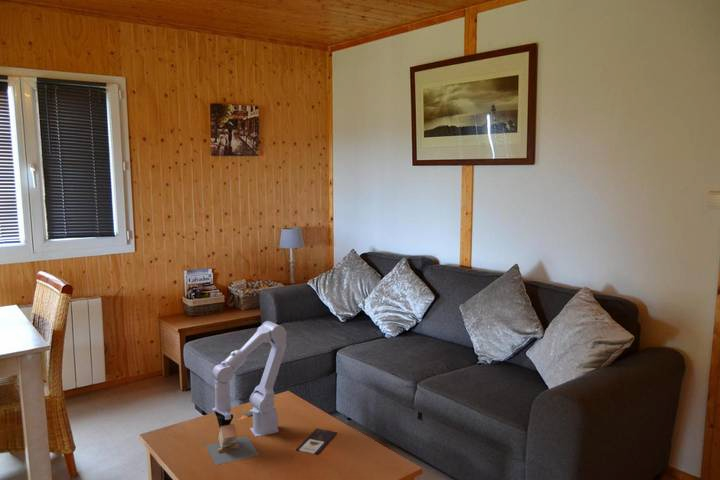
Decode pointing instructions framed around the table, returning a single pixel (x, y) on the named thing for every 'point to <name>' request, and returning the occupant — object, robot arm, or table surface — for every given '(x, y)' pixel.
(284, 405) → the table surface
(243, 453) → the rubber mat
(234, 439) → the birch block
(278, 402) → the table surface
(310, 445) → the chocolate bar
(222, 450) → the stop strip
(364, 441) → the table surface
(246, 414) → the key chain
